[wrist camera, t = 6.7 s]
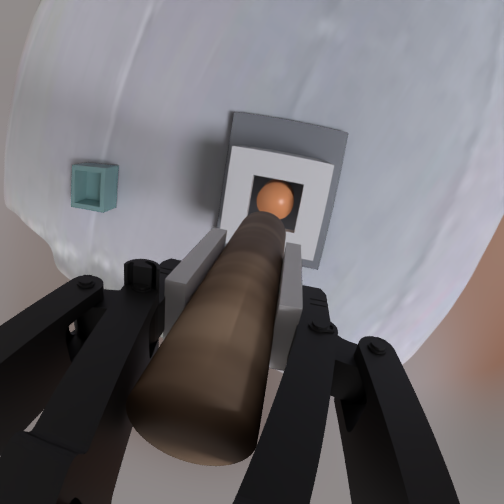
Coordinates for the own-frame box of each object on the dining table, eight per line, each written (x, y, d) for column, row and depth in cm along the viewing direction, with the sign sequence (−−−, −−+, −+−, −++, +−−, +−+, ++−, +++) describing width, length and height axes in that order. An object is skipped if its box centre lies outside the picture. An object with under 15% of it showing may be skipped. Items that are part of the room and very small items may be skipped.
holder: (86, 162, 41) (72, 165, 38) (118, 165, 41) (105, 168, 37) (84, 201, 43) (71, 206, 40) (116, 207, 43) (103, 212, 39)
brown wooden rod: (242, 207, 21) (119, 364, 6) (290, 216, 21) (270, 405, 6) (235, 251, 22) (132, 443, 7) (280, 260, 22) (245, 475, 7)
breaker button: (264, 175, 35) (259, 180, 31) (296, 182, 35) (296, 187, 31) (258, 207, 37) (253, 215, 33) (290, 213, 37) (289, 223, 32)
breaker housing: (235, 112, 36) (218, 104, 28) (347, 133, 35) (361, 130, 27) (216, 246, 43) (196, 272, 34) (317, 266, 42) (321, 298, 33)
